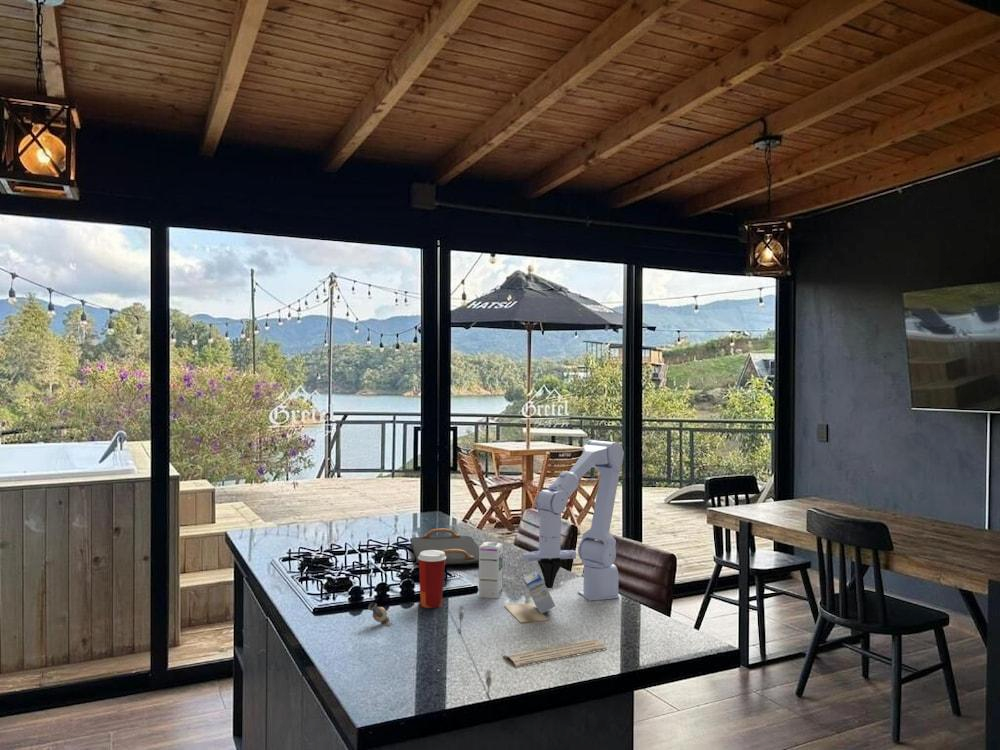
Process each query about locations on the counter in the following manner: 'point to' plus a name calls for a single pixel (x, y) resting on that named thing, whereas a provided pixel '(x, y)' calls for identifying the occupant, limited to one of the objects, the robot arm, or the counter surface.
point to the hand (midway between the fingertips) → (548, 587)
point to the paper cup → (431, 577)
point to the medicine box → (539, 592)
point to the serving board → (448, 546)
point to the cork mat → (525, 613)
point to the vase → (380, 614)
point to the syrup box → (490, 569)
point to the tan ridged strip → (555, 652)
